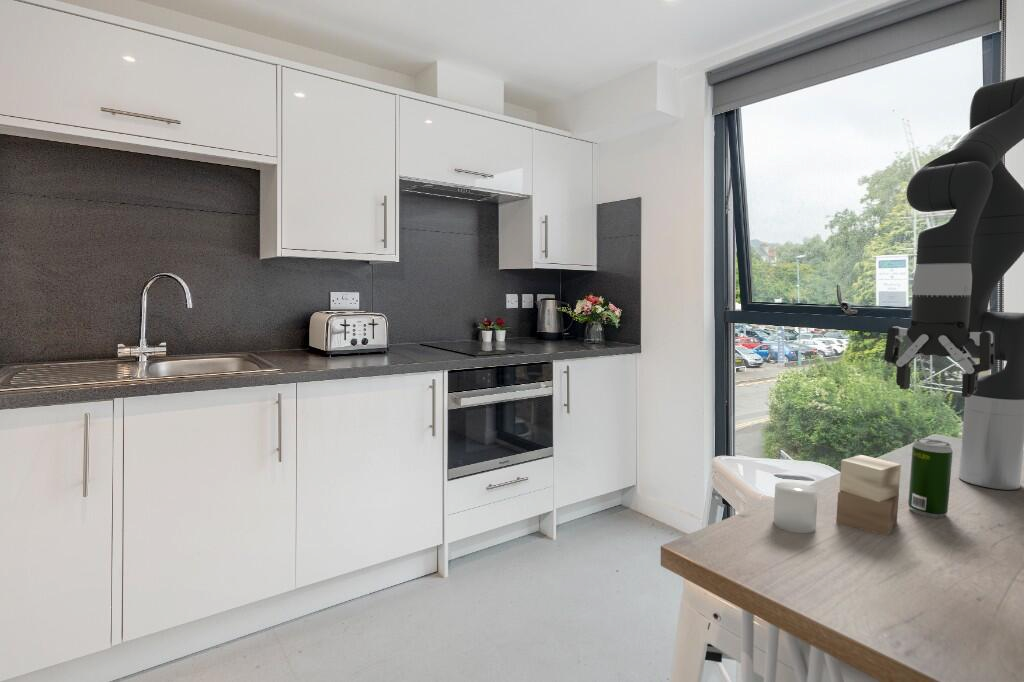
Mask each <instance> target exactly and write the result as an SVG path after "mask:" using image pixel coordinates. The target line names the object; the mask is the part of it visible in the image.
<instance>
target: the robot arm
mask: <svg viewBox="0 0 1024 682" xmlns="http://www.w3.org/2000/svg"><path fill="white" fill-rule="evenodd" d="M968 115H969V117H968V119H969V130H968V131H967V132H966V133H963V134H962V135H961V136H960V137H959V138H958V139H957V140H956V142H954V144H953V145H952V146H950V148H949V149H948V150H947V151H946V152H945V153H943V154H941V155H939V156H937V157H935V158H934V159H932V160H931V161H928V162H927V163H925V164H924V165H922V166H921V167H919V168H918V169H917V170H916V171H915V172H914V173H913V175H912V176H911V178H910V180H909V182H908V184H907V187H906V200H907V202H908V204H909V206H911V208H913V209H914V210H916V211H918V212H921V213H932V212H933V213H934V212H945V211H954V210H955V213H954V214H953V216H952V217H951V218H950V219H949V220H948V221H947V222H944V223H941V224H938V225H934V226H930V227H926V228H924V229H922V230H921V231H920V232H919V234H918V237H917V245H916V247H917V249H916V265H915V270H914V274H913V282H912V286H911V292H912V293H911V294H912V296H911V297H912V298H911V311H910V325H909V327H908V328H905V327H900V326H899V325H898V326H890V327H889V328H888V329H887V335H886V341H885V342H886V343H885V350H884V361H885V362H887V363H891V364H894V365H895V366H896V382H895V383H896V385H897V386H899V388H900V390H908V389H910V385H911V373H912V372H911V369H912V366H909V365H910V364H911V363H912V362H913V361H914V360H915V359H916V358H917V357H919V356H920V355H923V356H933V355H936V356H938V357H942V358H946V357H947V358H948V357H952V358H953V360H954V361H955V362H956V363H958V365H960V367H961V368H962V369H963V371H965V372H964V373H962V387H961V397H963V398H964V410H963V411H964V412H963V420H962V422H963V423H962V432H961V433H962V434H961V445H960V446H961V447H960V456H959V469H958V478H959V479H960V480H962V481H964V482H966V483H968V484H972V485H974V486H975V485H976V486H979V487H984V488H989V489H995V490H996V489H997V490H1008V491H1010V490H1011V491H1012V490H1019V488H1020V487H1021V480H1022V479H1021V478H1022V468H1023V458H1024V312H1009V311H1008V312H1006V311H1004V312H1003V311H988V310H989V303H990V299H991V298H992V294H993V292H994V290H995V288H996V287H997V285H998V284H999V283H1000V280H1001V279H1002V278H1003V277H1004V276H1005V274H1006V273H1007V272H1008V271H1009V270H1010V268H1012V266H1013V265H1014V264H1015V263H1016V262H1017V261H1018V259H1020V257H1021V256H1022V255H1023V254H1024V188H1023V187H1022V186H1021V184H1020V182H1018V180H1016V179H1015V178H1014V176H1013V175H1012V174H1011V173H1010V171H1009V170H1008V168H1006V165H1005V164H1004V162H1003V160H1002V158H1003V157H1004V156H1005V155H1006V154H1007V153H1008V152H1009V151H1010V150H1011V149H1012V148H1013V147H1015V146H1016V145H1017V144H1019V143H1020V142H1021V141H1023V140H1024V76H1020V77H1016V78H1010V79H1006V80H1002V81H997V82H994V83H989V84H985V85H983V86H982V85H981V86H979V87H978V88H977V89H976V90H975V91H974V92H973V95H972V97H971V100H970V104H969V114H968ZM906 336H907V337H908V339H909V340H910V342H911V343H912V344H911V345H910V346H909V347H908V348H907V349H906V350H905V351H904V352H903V354H902V355H901V356H900V346H901V345H900V344H901V341H902V340H904V339H905V337H906ZM974 359H979V363H976V361H975V360H974ZM996 361H1002V362H1004V361H1005V362H1006V363H1005V366H1004V368H1002V369H1001V370H999V371H997V372H993V373H991V374H987V375H979V374H980V373H981V372H987V371H991V370H993V369H994V368H995V365H996V364H995V362H996Z"/></svg>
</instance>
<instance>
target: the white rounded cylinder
mask: <svg viewBox="0 0 1024 682" xmlns="http://www.w3.org/2000/svg"><path fill="white" fill-rule="evenodd" d="M818 492H819V491H818V489H817V488H815V486H814V487H813V486H812V485H808V484H804V483H801V482H794V481H781V482H777V483H775V484H774V500H773V501H774V503H773V505H774V506H773V524H774V526H775V527H778V529H781V530H783V531H786V532H790V533H795V534H811V533H814V532H816V530H817V515H818V513H817V512H818V494H819V493H818Z"/></svg>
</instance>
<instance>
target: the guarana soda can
mask: <svg viewBox="0 0 1024 682" xmlns="http://www.w3.org/2000/svg"><path fill="white" fill-rule="evenodd" d="M951 447H952V444H951V443H949V442H946V441H945V440H939V439H935V438H934V439H933V438H932V439H931V438H915V439H914V443H913V444H912V449H911V459H910V460H911V463H910V475H909V476H910V477H909V489H908V504H907V505H908V508H909V510H910V511H911V512H912V513H914V514H916V515H919V516H922V517H923V516H924V517H926V518H933V519H940V518H941V519H942V518H944V517H945V516H946V515H947V513H948V511H949V500H950V499H949V497H950V490H951V489H950V486H951V474H952V462H953V452H954V451H953V449H952V448H951Z"/></svg>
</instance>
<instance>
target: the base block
mask: <svg viewBox="0 0 1024 682" xmlns="http://www.w3.org/2000/svg"><path fill="white" fill-rule="evenodd" d="M899 497H900V494H899V495H898V496H895V497H892V498H889V499H886V500H884V501H881V502H877V501H874V500H870V499H867V498H864V497H860V496H857V495H854V494H850V493H847V492H844V491H840V490H839V492H837V503H836V504H837V505H836V506H837V507H836V518H835V519H836V520H835V521H836V522H835V523H837V522H838V523H837V524H842V525H845V526H850V527H853V528H857V527H858V528H857V529H860V528H862V529H861V530H864V529H865V531H868V530H869V531H868V532H873V533H876V534H880V535H884V536H889V534H890V533H891V532H892V530H893V528H894V527H895V525H896V524H897V523H898V511H899V500H900V498H899Z"/></svg>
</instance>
